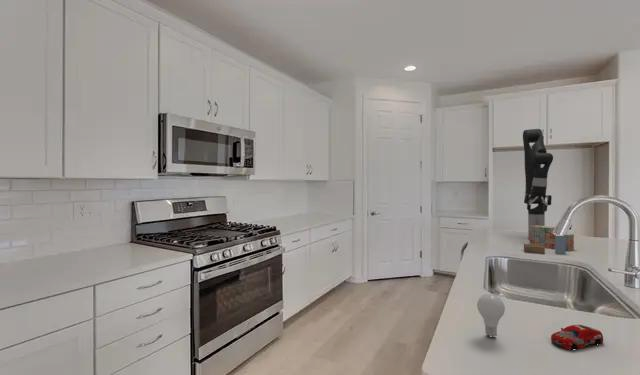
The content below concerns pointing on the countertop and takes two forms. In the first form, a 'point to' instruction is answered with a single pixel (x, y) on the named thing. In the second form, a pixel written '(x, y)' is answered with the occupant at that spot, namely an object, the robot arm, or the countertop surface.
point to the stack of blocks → (548, 237)
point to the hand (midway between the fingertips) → (536, 211)
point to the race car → (577, 337)
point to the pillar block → (560, 245)
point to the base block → (534, 248)
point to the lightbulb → (491, 312)
